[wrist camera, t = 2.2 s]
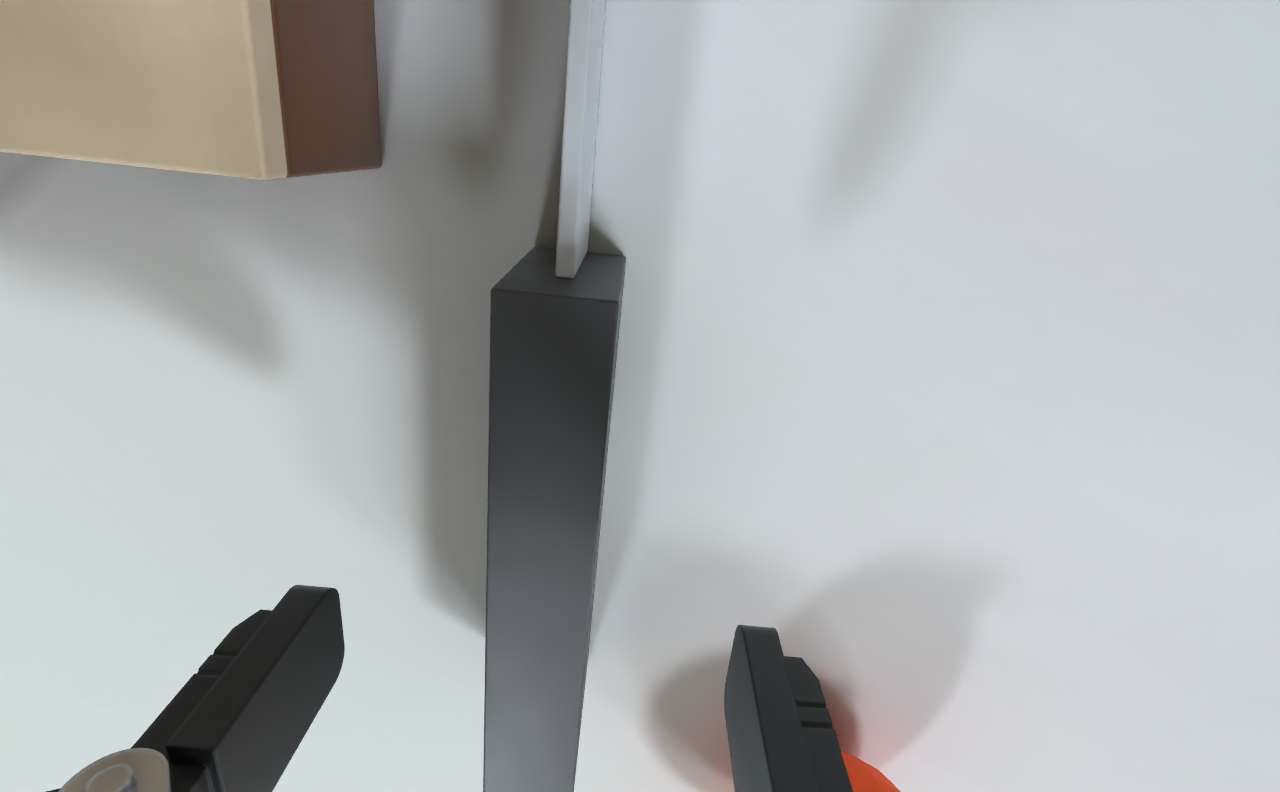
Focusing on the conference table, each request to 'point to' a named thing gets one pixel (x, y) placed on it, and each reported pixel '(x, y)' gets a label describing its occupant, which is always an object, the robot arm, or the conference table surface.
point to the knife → (549, 460)
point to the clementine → (866, 776)
